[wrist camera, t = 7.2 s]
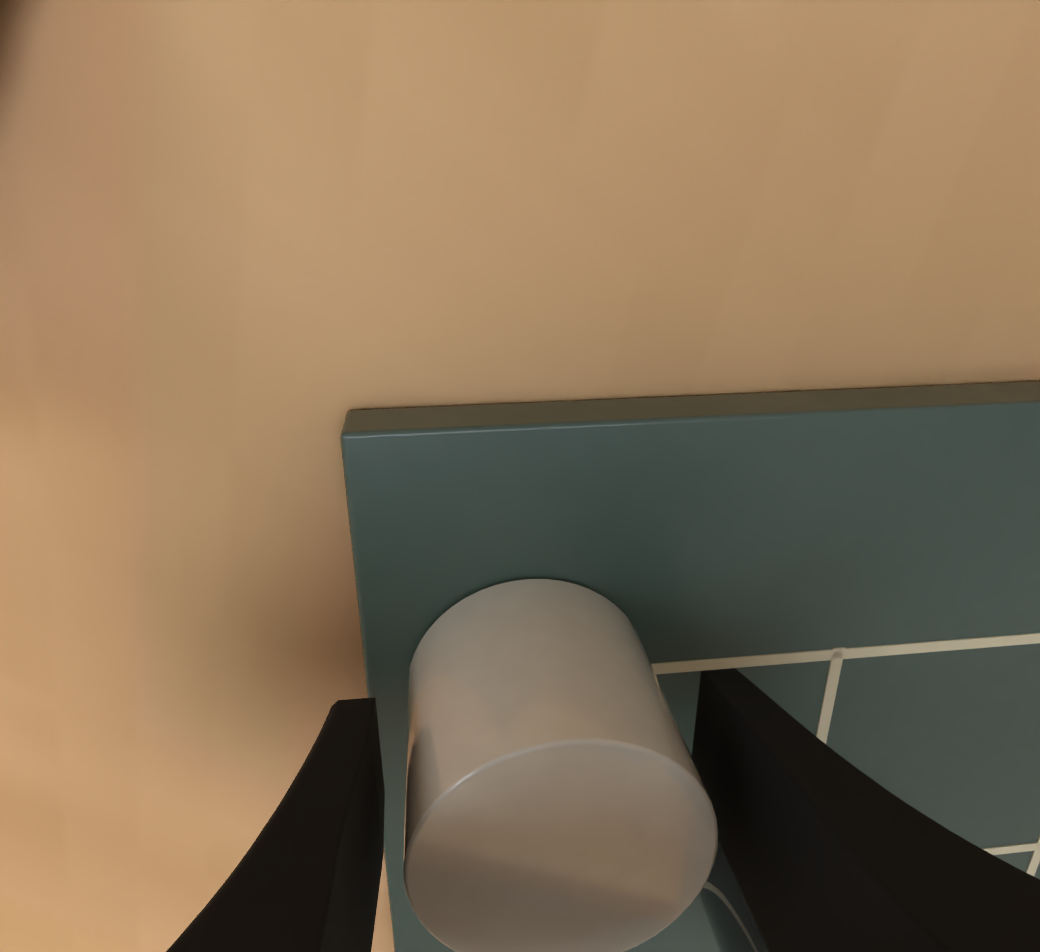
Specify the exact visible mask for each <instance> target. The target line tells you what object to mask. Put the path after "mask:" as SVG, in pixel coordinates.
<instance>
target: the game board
mask: <svg viewBox="0 0 1040 952" xmlns="http://www.w3.org/2000/svg"><path fill="white" fill-rule="evenodd" d="M340 438H341V447H342V457H343V466H344V476H345V485H346V495H347V504H348V513H349V523H350V532H351V542H352V551H353V561H354V570H355V580H356V589H357V599H358V608H359V617H360V627H361V636H362V646H363V655H364V665H365V674H366V684H367V693H368V698H374V697H375V699H376V709H377V719H378V729H379V738H380V748H381V758H382V768H383V778H384V788H385V808H384V854H385V863H386V873H387V882H388V892H389V901H390V910H391V920H392V929H393V939H394V948H395V952H455V951H454V950H452V949H450V948H449V947H447V946H446V945H444V944H442V943H441V942H440V941H439V940H438V939H436V938H435V937H434V936H433V935H432V934H431V933H430V932H429V931H428V930H427V929H426V928H425V927H424V926H423V924H422V923H421V922H420V920H419V919H418V917H417V915H416V914H415V912H414V911H413V909H412V907H411V904H410V902H409V899H408V896H407V894H406V889H405V884H404V822H405V780H406V737H407V694H408V675H409V669H410V665H411V662H412V659H413V656H414V653H415V651H416V649H417V647H418V645H419V643H420V641H421V639H422V638H423V636H424V635H425V634H426V632H427V631H428V629H429V628H430V627H431V626H432V625H433V624H434V622H435V621H436V620H437V619H438V618H439V617H440V616H441V615H442V614H444V613H445V612H446V611H447V610H448V609H449V608H451V607H452V606H453V605H455V604H456V603H458V602H459V601H461V600H462V599H464V598H466V597H468V596H470V595H472V594H474V593H476V592H478V591H480V590H482V589H485V588H488V587H490V586H493V585H496V584H500V583H505V582H509V581H514V580H522V579H552V580H561V581H565V582H570V583H574V584H577V585H580V586H583V587H585V588H588V589H590V590H592V591H594V592H596V593H598V594H600V595H602V596H604V597H605V598H607V599H608V600H609V601H611V602H612V603H614V604H615V605H616V606H617V607H618V608H619V609H620V610H621V611H622V612H623V613H624V614H625V615H626V616H627V617H628V619H629V620H630V621H631V623H632V624H633V626H634V628H635V629H636V631H637V633H638V635H639V637H640V639H641V642H642V644H643V646H644V649H645V651H646V653H647V655H648V658H649V660H650V662H651V665H652V667H653V669H654V671H655V674H656V676H657V678H658V680H659V683H660V685H661V687H662V690H663V692H664V694H665V696H666V699H667V701H668V703H669V706H670V708H671V710H672V712H673V715H674V717H675V719H676V722H677V724H678V726H679V728H680V731H681V733H682V735H683V737H684V740H685V742H686V744H687V747H688V749H689V751H690V753H691V756H692V747H693V738H694V729H695V720H696V711H697V702H698V693H699V684H700V675H701V671H706V670H719V669H731V668H736V669H737V670H738V671H739V672H740V673H742V674H743V675H744V676H745V677H746V678H748V679H749V680H750V681H751V682H752V683H753V684H755V685H756V686H757V687H758V688H759V689H760V690H762V691H763V692H764V693H765V694H766V695H767V696H769V697H770V698H771V699H772V700H773V701H774V702H776V703H777V704H778V705H779V706H780V707H781V708H783V709H784V710H785V711H786V712H787V713H788V714H790V715H791V716H792V717H793V718H794V719H796V720H797V721H798V722H799V723H800V724H802V725H803V726H804V727H805V728H806V729H808V730H809V731H810V732H811V733H813V734H814V735H815V736H816V737H817V738H819V739H820V740H821V741H822V742H824V743H825V744H826V745H827V746H829V747H830V748H831V749H832V750H834V751H835V752H836V753H838V754H839V755H840V756H842V757H843V758H844V759H845V760H847V761H848V762H849V763H851V764H852V765H853V766H855V767H856V768H857V769H859V770H860V771H862V772H863V773H864V774H866V775H867V776H868V777H870V778H871V779H873V780H874V781H875V782H877V783H878V784H879V785H881V786H882V787H884V788H885V789H886V790H888V791H889V792H891V793H892V794H894V795H895V796H897V797H898V798H900V799H901V800H902V801H904V802H905V803H907V804H909V805H910V806H912V807H913V808H915V809H916V810H918V811H920V812H921V813H923V814H924V815H926V816H928V817H929V818H931V819H932V820H934V821H935V822H937V823H939V824H940V825H942V826H943V827H945V828H947V829H948V830H950V831H952V832H953V833H955V834H957V835H958V836H960V837H962V838H964V839H965V840H967V841H969V842H970V843H972V844H974V845H976V846H978V847H979V848H981V849H983V850H985V851H987V852H989V853H990V854H992V855H994V856H996V857H998V858H1000V859H1001V860H1003V861H1005V862H1007V863H1009V864H1011V865H1012V866H1014V867H1016V868H1018V869H1020V870H1022V871H1024V872H1026V873H1028V874H1030V875H1032V876H1034V877H1036V878H1038V879H1040V381H1032V382H1008V383H985V384H961V385H937V386H914V387H890V388H866V389H843V390H819V391H795V392H771V393H748V394H724V395H700V396H677V397H653V398H629V399H606V400H582V401H558V402H534V403H511V404H487V405H463V406H440V407H416V408H392V409H369V410H351V411H348V412H347V414H346V418H345V422H344V425H343V429H342V433H341V437H340ZM720 847H721V846H720V844H719V841H718V848H717V851H718V849H719V848H720ZM625 952H720V951H719V949H718V946H717V943H716V940H715V938H714V935H713V932H712V930H711V927H710V924H709V921H708V919H707V916H706V913H705V911H704V908H703V905H702V899H701V892H700V893H699V894H698V895H697V897H696V898H695V899H694V901H693V902H692V903H691V905H690V906H689V907H688V908H687V909H686V910H685V911H684V912H683V913H682V914H681V915H680V916H679V917H678V918H677V919H676V920H674V921H673V922H672V923H671V924H670V925H669V926H667V927H666V928H665V929H663V930H662V931H660V932H659V933H658V934H656V935H655V936H653V937H652V938H650V939H648V940H647V941H645V942H643V943H641V944H639V945H638V946H636V947H634V948H632V949H629V950H627V951H625Z"/></svg>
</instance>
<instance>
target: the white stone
mask: <svg viewBox="0 0 1040 952" xmlns="http://www.w3.org/2000/svg"><path fill="white" fill-rule="evenodd" d="M717 848H718V824H717V816H716V813H715V810H714V807H713V804H712V801H711V799H710V797H709V795H708V792H707V790H706V788H705V785H704V783H703V781H702V779H701V776H700V774H699V772H698V769H697V767H696V765H695V763H694V760H693V758H692V756H691V753H690V751H689V749H688V747H687V744H686V742H685V740H684V737H683V735H682V733H681V731H680V728H679V726H678V724H677V722H676V719H675V717H674V715H673V712H672V710H671V708H670V706H669V703H668V701H667V699H666V696H665V694H664V692H663V690H662V687H661V685H660V683H659V680H658V678H657V676H656V674H655V671H654V669H653V667H652V665H651V662H650V660H649V658H648V655H647V653H646V651H645V649H644V646H643V644H642V642H641V639H640V637H639V635H638V633H637V631H636V629H635V628H634V626H633V624H632V623H631V621H630V620H629V619H628V617H627V616H626V615H625V614H624V613H623V612H622V611H621V610H620V609H619V608H618V607H617V606H616V605H615V604H614V603H612V602H611V601H609V600H608V599H607V598H605V597H604V596H602V595H600V594H598V593H596V592H594V591H592V590H590V589H588V588H585V587H583V586H580V585H577V584H574V583H570V582H565V581H561V580H552V579H522V580H514V581H509V582H505V583H500V584H496V585H493V586H490V587H488V588H485V589H482V590H480V591H478V592H476V593H474V594H472V595H470V596H468V597H466V598H464V599H462V600H461V601H459V602H458V603H456V604H455V605H453V606H452V607H451V608H449V609H448V610H447V611H446V612H445V613H444V614H442V615H441V616H440V617H439V618H438V619H437V620H436V621H435V622H434V624H433V625H432V626H431V627H430V628H429V629H428V631H427V632H426V634H425V635H424V636H423V638H422V639H421V641H420V643H419V645H418V647H417V649H416V651H415V653H414V656H413V659H412V662H411V665H410V669H409V675H408V694H407V737H406V780H405V822H404V884H405V889H406V894H407V896H408V899H409V902H410V904H411V907H412V909H413V911H414V912H415V914H416V915H417V917H418V919H419V920H420V922H421V923H422V924H423V926H424V927H425V928H426V929H427V930H428V931H429V932H430V933H431V934H432V935H433V936H434V937H435V938H436V939H438V940H439V941H440V942H441V943H442V944H444V945H446V946H447V947H449V948H450V949H452V950H454V951H455V952H625V951H627V950H629V949H632V948H634V947H636V946H638V945H639V944H641V943H643V942H645V941H647V940H648V939H650V938H652V937H653V936H655V935H656V934H658V933H659V932H660V931H662V930H663V929H665V928H666V927H667V926H669V925H670V924H671V923H672V922H673V921H674V920H676V919H677V918H678V917H679V916H680V915H681V914H682V913H683V912H684V911H685V910H686V909H687V908H688V907H689V906H690V905H691V903H692V902H693V901H694V899H695V898H696V897H697V895H698V894H699V893H700V892H701V890H702V888H703V886H704V885H705V883H706V881H707V879H708V878H709V875H710V873H711V870H712V868H713V865H714V862H715V857H716V853H717Z"/></svg>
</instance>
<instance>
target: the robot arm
mask: <svg viewBox="0 0 1040 952" xmlns="http://www.w3.org/2000/svg"><path fill="white" fill-rule="evenodd" d="M692 758H693V760H694V763H695V765H696V767H697V769H698V772H699V774H700V776H701V779H702V781H703V783H704V785H705V788H706V790H707V792H708V795H709V797H710V799H711V801H712V804H713V807H714V810H715V813H716V816H717V824H718V841H719V844H720V846H721V848H722V850H723V852H724V855H725V857H726V859H727V861H728V864H729V866H730V868H731V870H732V872H733V875H734V877H735V879H736V881H737V883H738V885H739V888H740V890H741V892H742V894H743V896H744V899H745V901H746V903H747V905H748V907H749V909H750V912H751V914H752V916H753V918H754V920H755V923H756V925H757V927H758V929H759V931H760V934H761V936H762V938H763V940H764V942H765V944H766V947H767V949H768V952H1040V879H1038V878H1036V877H1034V876H1032V875H1030V874H1028V873H1026V872H1024V871H1022V870H1020V869H1018V868H1016V867H1014V866H1012V865H1011V864H1009V863H1007V862H1005V861H1003V860H1001V859H1000V858H998V857H996V856H994V855H992V854H990V853H989V852H987V851H985V850H983V849H981V848H979V847H978V846H976V845H974V844H972V843H970V842H969V841H967V840H965V839H964V838H962V837H960V836H958V835H957V834H955V833H953V832H952V831H950V830H948V829H947V828H945V827H943V826H942V825H940V824H939V823H937V822H935V821H934V820H932V819H931V818H929V817H928V816H926V815H924V814H923V813H921V812H920V811H918V810H916V809H915V808H913V807H912V806H910V805H909V804H907V803H905V802H904V801H902V800H901V799H900V798H898V797H897V796H895V795H894V794H892V793H891V792H889V791H888V790H886V789H885V788H884V787H882V786H881V785H879V784H878V783H877V782H875V781H874V780H873V779H871V778H870V777H868V776H867V775H866V774H864V773H863V772H862V771H860V770H859V769H857V768H856V767H855V766H853V765H852V764H851V763H849V762H848V761H847V760H845V759H844V758H843V757H842V756H840V755H839V754H838V753H836V752H835V751H834V750H832V749H831V748H830V747H829V746H827V745H826V744H825V743H824V742H822V741H821V740H820V739H819V738H817V737H816V736H815V735H814V734H813V733H811V732H810V731H809V730H808V729H806V728H805V727H804V726H803V725H802V724H800V723H799V722H798V721H797V720H796V719H794V718H793V717H792V716H791V715H790V714H788V713H787V712H786V711H785V710H784V709H783V708H781V707H780V706H779V705H778V704H777V703H776V702H774V701H773V700H772V699H771V698H770V697H769V696H767V695H766V694H765V693H764V692H763V691H762V690H760V689H759V688H758V687H757V686H756V685H755V684H753V683H752V682H751V681H750V680H749V679H748V678H746V677H745V676H744V675H743V674H742V673H740V672H739V671H738V670H737V669H736V668H731V669H719V670H706V671H701V675H700V684H699V693H698V702H697V711H696V720H695V729H694V738H693V747H692ZM384 808H385V788H384V778H383V768H382V758H381V748H380V738H379V729H378V719H377V709H376V699H375V697H374V698H361V699H349V700H338V701H337V702H336V703H335V704H334V705H333V706H332V707H331V709H330V711H329V714H328V716H327V719H326V721H325V723H324V725H323V727H322V729H321V731H320V733H319V735H318V737H317V739H316V741H315V743H314V745H313V747H312V749H311V751H310V753H309V754H308V756H307V758H306V760H305V762H304V764H303V766H302V767H301V769H300V771H299V772H298V774H297V776H296V777H295V779H294V781H293V782H292V784H291V786H290V788H289V789H288V791H287V793H286V794H285V796H284V798H283V799H282V801H281V803H280V804H279V806H278V807H277V809H276V810H275V812H274V813H273V815H272V816H271V818H270V819H269V821H268V822H267V824H266V825H265V827H264V828H263V830H262V831H261V833H260V834H259V836H258V837H257V839H256V840H255V842H254V843H253V845H252V846H251V848H250V849H249V850H248V852H247V853H246V855H245V856H244V857H243V859H242V860H241V861H240V863H239V864H238V866H237V867H236V868H235V870H234V871H233V872H232V874H231V875H230V876H229V877H228V879H227V880H226V881H225V883H224V884H223V885H222V886H221V888H220V889H219V890H218V891H217V893H216V894H215V895H214V896H213V898H212V899H211V900H210V901H209V903H208V904H207V905H206V906H205V908H204V909H203V910H202V911H201V912H200V913H199V915H198V916H197V917H196V918H195V919H194V920H193V921H192V923H191V924H190V925H189V926H188V927H187V928H186V930H185V931H184V932H183V933H182V934H181V935H180V937H179V938H178V939H177V940H176V941H175V942H174V943H173V945H172V946H171V947H170V948H169V949H168V950H167V951H166V952H371V947H372V939H373V932H374V924H375V916H376V908H377V900H378V892H379V884H380V876H381V868H382V860H383V851H384Z"/></svg>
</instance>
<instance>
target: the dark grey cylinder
mask: <svg viewBox="0 0 1040 952" xmlns="http://www.w3.org/2000/svg"><path fill="white" fill-rule="evenodd" d="M701 899H702V905H703V908H704V911H705V913H706V916H707V919H708V921H709V924H710V927H711V930H712V932H713V935H714V938H715V940H716V943H717V946H718V949H719V951H720V952H768V949H767V947H766V944H765V942H764V940H763V938H762V936H761V934H760V931H759V929H758V927H757V925H756V923H755V920H754V918H753V916H752V914H751V912H750V909H749V907H748V905H747V903H746V901H745V899H744V896H743V894H742V892H741V890H740V888H739V885H738V883H737V881H736V879H735V877H734V875H733V872H732V870H731V868H730V866H729V864H728V861H727V859H726V857H725V855H724V852H723V850H722V848H721V847H720V848H719V849H718V851H717V853H716V857H715V862H714V865H713V868H712V870H711V873H710V875H709V878H708V879H707V881H706V883H705V885H704V886H703V888H702V890H701Z"/></svg>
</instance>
